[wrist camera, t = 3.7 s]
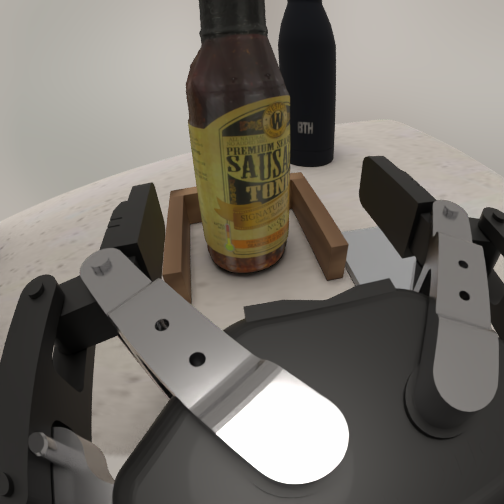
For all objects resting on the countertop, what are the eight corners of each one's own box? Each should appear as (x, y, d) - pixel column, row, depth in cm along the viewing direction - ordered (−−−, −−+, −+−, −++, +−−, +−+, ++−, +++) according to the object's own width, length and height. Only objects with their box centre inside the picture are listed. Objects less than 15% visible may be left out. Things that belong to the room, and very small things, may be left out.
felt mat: (377, 328, 17) (380, 323, 17) (330, 239, 24) (331, 233, 24) (482, 293, 18) (485, 287, 18) (426, 224, 25) (427, 219, 25)
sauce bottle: (246, 292, 21) (209, -46, 8) (192, 251, 24) (145, -14, 11) (307, 245, 24) (305, -30, 11) (252, 215, 27) (232, -16, 14)
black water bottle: (316, 144, 40) (309, -60, 20) (343, 162, 35) (339, -72, 16) (274, 151, 39) (259, -66, 19) (296, 170, 34) (283, -83, 14)
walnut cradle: (174, 306, 20) (162, 274, 18) (177, 218, 28) (170, 191, 26) (342, 277, 21) (348, 244, 19) (300, 200, 29) (301, 172, 27)
